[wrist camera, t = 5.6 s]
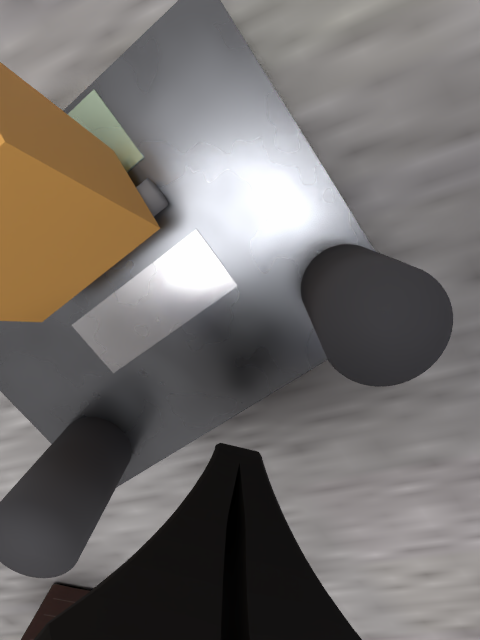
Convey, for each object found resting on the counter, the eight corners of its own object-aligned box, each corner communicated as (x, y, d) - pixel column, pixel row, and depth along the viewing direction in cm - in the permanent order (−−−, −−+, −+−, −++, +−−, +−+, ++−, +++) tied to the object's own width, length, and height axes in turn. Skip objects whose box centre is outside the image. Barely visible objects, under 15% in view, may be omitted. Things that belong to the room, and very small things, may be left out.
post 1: (146, 456, 15) (100, 553, 11) (94, 488, 16) (33, 590, 12) (98, 404, 15) (31, 485, 10) (47, 439, 15) (-37, 529, 11)
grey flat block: (387, 293, 15) (411, 309, 13) (122, 458, 18) (101, 497, 16) (215, 18, 13) (204, -28, 10) (-55, 266, 16) (-113, 277, 14)
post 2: (403, 297, 13) (476, 343, 8) (329, 343, 13) (361, 407, 9) (359, 225, 12) (412, 235, 8) (284, 277, 13) (295, 313, 8)
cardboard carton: (187, 233, 12) (18, 128, 6) (65, 327, 13) (-182, 324, 7) (144, 163, 12) (-54, -2, 6) (30, 259, 13) (-227, 201, 7)
